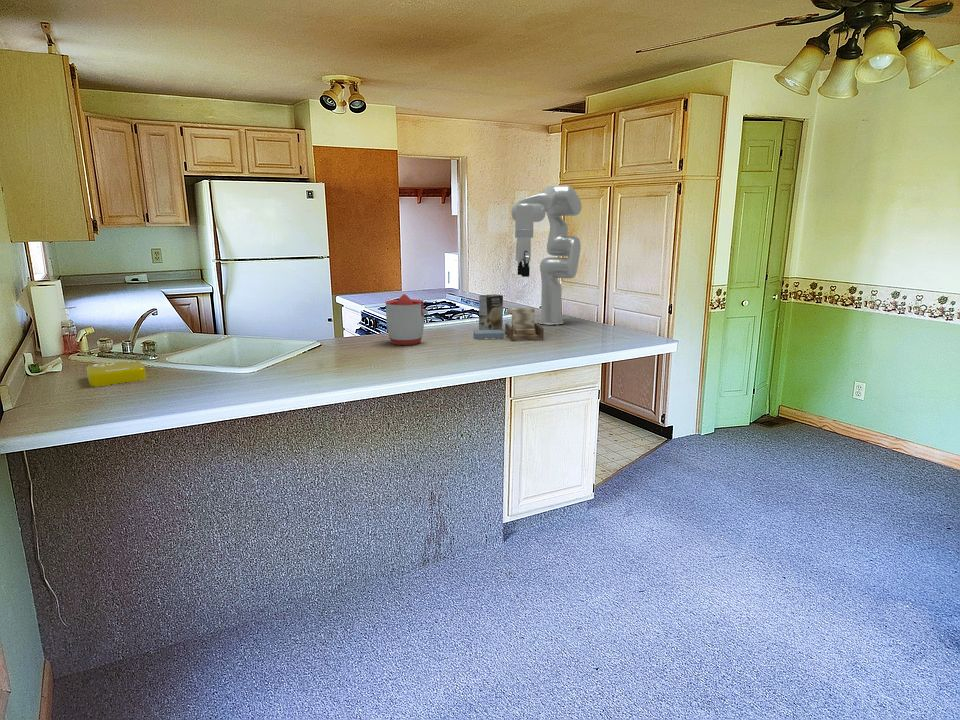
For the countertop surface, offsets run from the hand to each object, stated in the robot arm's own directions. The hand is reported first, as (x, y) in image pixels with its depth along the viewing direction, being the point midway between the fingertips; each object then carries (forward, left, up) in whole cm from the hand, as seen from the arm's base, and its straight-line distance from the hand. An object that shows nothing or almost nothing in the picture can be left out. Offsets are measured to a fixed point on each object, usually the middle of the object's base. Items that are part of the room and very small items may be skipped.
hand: (523, 275), depth 251 cm
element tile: (+140, +56, -27) cm, 153 cm away
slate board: (+15, +1, -26) cm, 30 cm away
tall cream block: (0, 0, -26) cm, 26 cm away
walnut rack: (0, +2, -26) cm, 26 cm away
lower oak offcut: (0, +5, -27) cm, 27 cm away
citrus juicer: (+49, +9, -26) cm, 56 cm away
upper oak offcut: (0, +5, -24) cm, 25 cm away
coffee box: (+12, -15, -26) cm, 33 cm away
